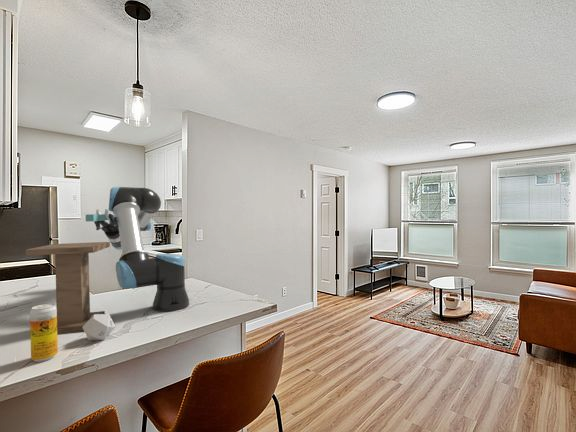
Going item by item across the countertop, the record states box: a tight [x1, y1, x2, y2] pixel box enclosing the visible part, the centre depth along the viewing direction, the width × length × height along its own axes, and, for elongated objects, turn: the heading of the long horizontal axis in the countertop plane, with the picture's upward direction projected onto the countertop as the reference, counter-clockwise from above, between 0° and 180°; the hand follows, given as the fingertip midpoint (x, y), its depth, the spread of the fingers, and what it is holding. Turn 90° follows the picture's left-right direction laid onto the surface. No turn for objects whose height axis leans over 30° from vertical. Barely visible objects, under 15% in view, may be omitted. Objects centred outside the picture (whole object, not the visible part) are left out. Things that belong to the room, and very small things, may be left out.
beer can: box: [29, 303, 59, 363], centre depth 90 cm, size 6×6×15 cm
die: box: [82, 313, 116, 341], centre depth 103 cm, size 8×9×10 cm
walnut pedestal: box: [25, 241, 111, 335], centre depth 116 cm, size 20×20×30 cm
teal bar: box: [85, 213, 108, 223], centre depth 146 cm, size 26×3×3 cm, turn 15°
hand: (101, 211), depth 149 cm, fingers closed on teal bar, 3 cm apart
